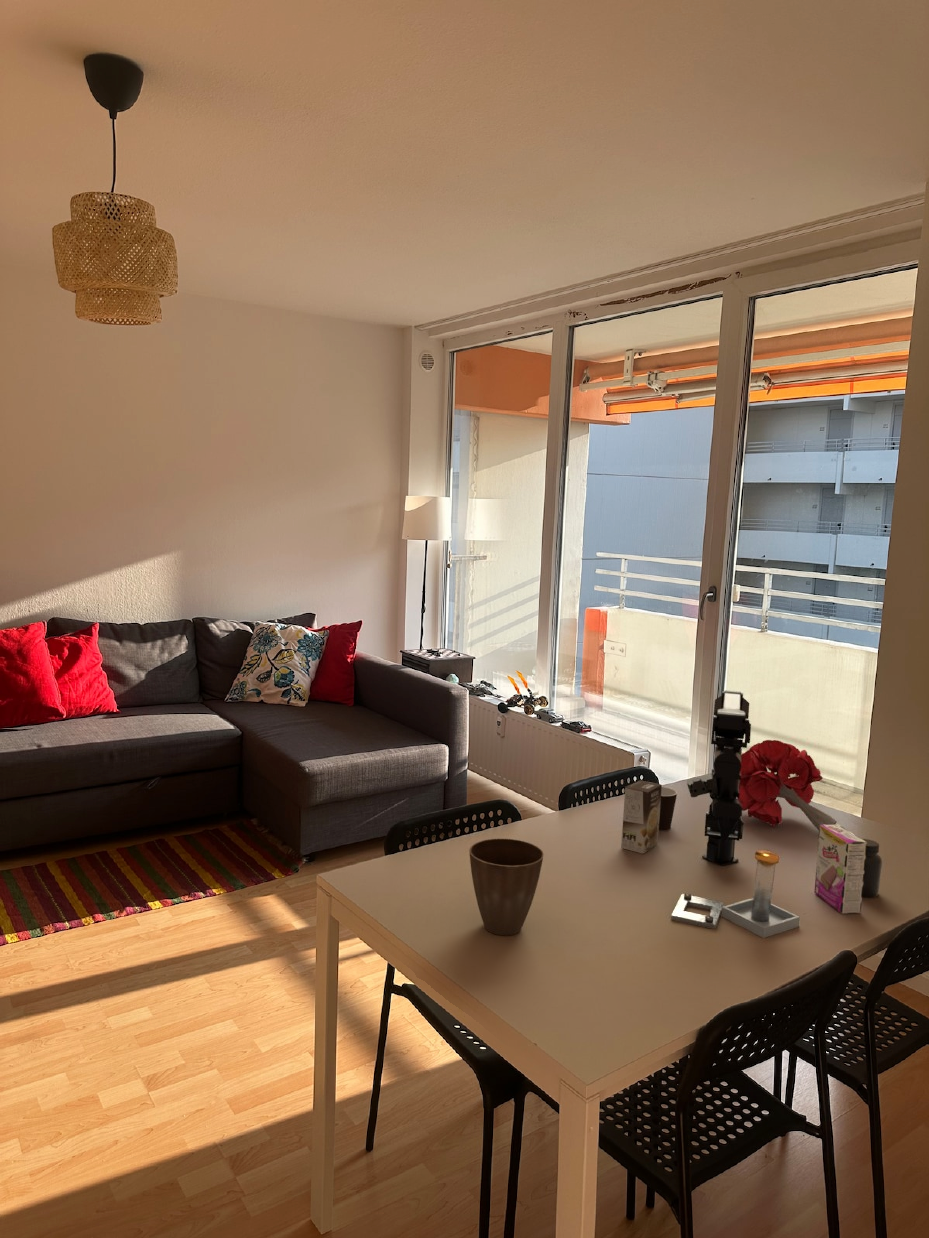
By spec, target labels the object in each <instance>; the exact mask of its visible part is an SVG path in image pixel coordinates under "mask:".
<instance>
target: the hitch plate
mask: <svg viewBox="0 0 929 1238" xmlns="http://www.w3.org/2000/svg"><path fill="white" fill-rule="evenodd" d="M724 906H725V905H724V902H723V901H719V900H714V899H708V898H704V897H699V896H695V895H694V896H693V895H692V894H691V893H681V895H680V897H679V899H678V901H677V903H676V906H675V907H674V910H673V911H672V913H671V917H670V920H671V921H675V922H679V923H685V924H690V925H694V926H698V927H704V928H707V929H713V930H716V928H717V925H718V922H719V919H720V918H721V917H720V916H722V907H724ZM687 907H692V908H698V909H702V910H706V911H710V913H709V915H704V914H700V913H695V912H691V911H690V912H689V911H686V910H687Z"/></svg>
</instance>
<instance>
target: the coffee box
mask: <svg viewBox="0 0 929 1238" xmlns="http://www.w3.org/2000/svg"><path fill="white" fill-rule="evenodd" d="M662 787H663V785H662V784H660V783H656V782H651V781H646V780H645V781H644V780H641V779H639V780H637V781H636V782H634V783H631V784H629V785H627V786H624V802H623V817H622V830H621V844H620V845H621V849H624V850H628V851H631V852H636V853H638V854H645V853H647V852H648V851H649V850H651V849H652V848H654V847H655V846H657V845H658V843H659V832H660V830H659V818H660V803H661V789H662Z"/></svg>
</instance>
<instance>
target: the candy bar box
mask: <svg viewBox="0 0 929 1238" xmlns="http://www.w3.org/2000/svg"><path fill="white" fill-rule="evenodd" d="M862 839H863V838H861V837H859V836H858V835H856V834H854V833H852V832H851V831H850V830H848V829H846V828H845V827H844V826H842V825H840V824H839V823H836V824H827V825H826V824H823V825H820V830H819V831H818V842H817V843H818V844H817V856H816V870H815V879H814V880H815V881H814V890H813V892H814V894H815V895H816V896H818V897H820V898H821V900H823V901H824V902H826V903H827V904H828V905H830V906H831V907H832V908H834V909H835V910H836V911H837V912H839V913H840V914H841V915H852V914H861V911H862V901H863V897H862V891H863V881H864V870H865V858H866V848H867V842H866V841H864V840H862Z"/></svg>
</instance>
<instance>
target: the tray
mask: <svg viewBox="0 0 929 1238" xmlns="http://www.w3.org/2000/svg"><path fill="white" fill-rule="evenodd" d="M752 904H753V897H752V898H748V899H744V900H741V901H737V902H734V903H732V904H728V905H723V907H722V912H721V917H722V918H723V919H726V920H728V921H730V922H732V923H733V924H736V925H737V926H740V927H742V928H744V929H746V930H747V931H749V932H752V933H753V934H755V935H757V936H759V937H761V938H763V939H765V938H768V937H772V936H774V935H777V934H780V933H784V932H786V931H789V930H793V929H796V928H799V927H800V919H801V918H800V916H798V915H797V914H794V913H792V912H791V911H788V910H786V909H784V908H782V907H780V906H777V905H775V904H773V903H771V907H770V915H769V921H768V922H759V921H756V920H754V919H752V918H751V913H752Z"/></svg>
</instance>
